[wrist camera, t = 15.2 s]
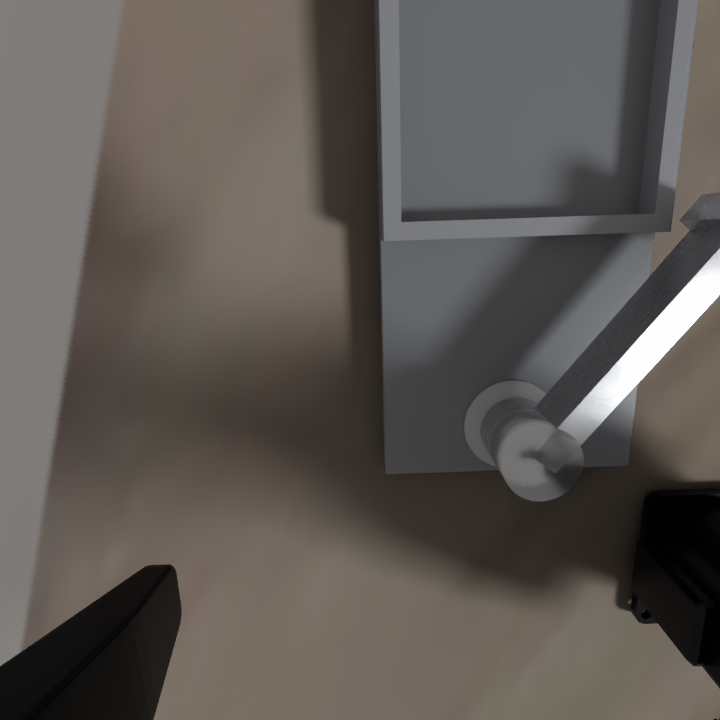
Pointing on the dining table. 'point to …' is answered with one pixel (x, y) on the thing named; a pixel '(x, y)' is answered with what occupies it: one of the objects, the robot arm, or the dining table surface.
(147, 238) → the dining table surface
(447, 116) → the socket base
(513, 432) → the pivoting lever handle
